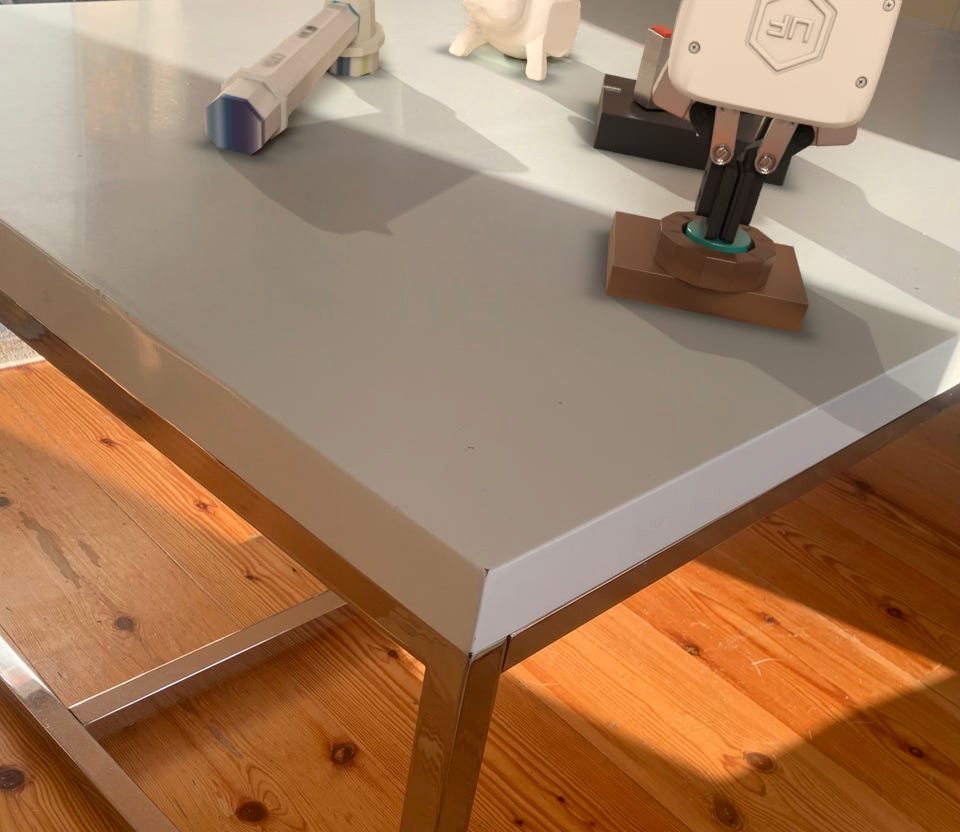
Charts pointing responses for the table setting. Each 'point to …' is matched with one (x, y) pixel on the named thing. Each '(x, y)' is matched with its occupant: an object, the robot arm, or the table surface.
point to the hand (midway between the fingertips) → (716, 231)
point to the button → (718, 239)
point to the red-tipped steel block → (652, 65)
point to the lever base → (661, 131)
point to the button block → (704, 272)
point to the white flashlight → (293, 74)
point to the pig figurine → (521, 30)
